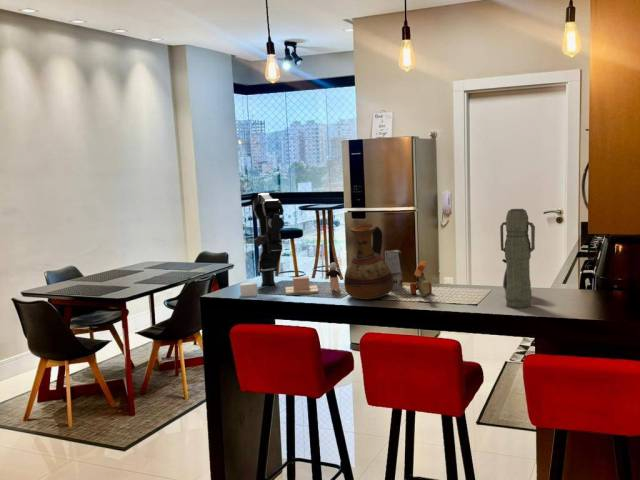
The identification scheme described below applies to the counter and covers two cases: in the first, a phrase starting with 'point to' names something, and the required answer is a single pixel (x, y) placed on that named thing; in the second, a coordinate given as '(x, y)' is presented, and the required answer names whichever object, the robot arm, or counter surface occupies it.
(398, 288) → the coffee box
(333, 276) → the grandmother figurine
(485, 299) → the counter surface
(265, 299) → the counter surface
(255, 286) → the offwhite brick
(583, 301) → the counter surface
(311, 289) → the oak board
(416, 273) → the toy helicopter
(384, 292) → the ceramic pitcher
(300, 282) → the terracotta brick
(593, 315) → the counter surface
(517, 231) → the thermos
